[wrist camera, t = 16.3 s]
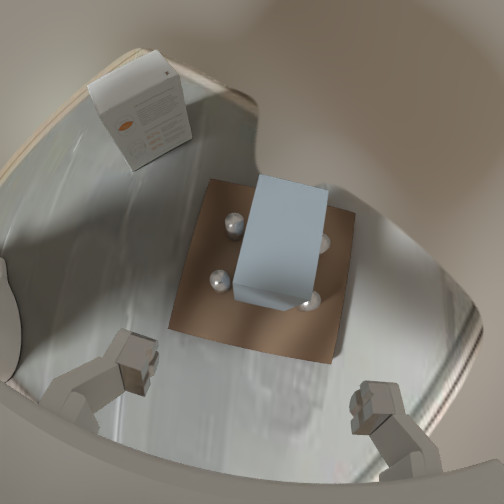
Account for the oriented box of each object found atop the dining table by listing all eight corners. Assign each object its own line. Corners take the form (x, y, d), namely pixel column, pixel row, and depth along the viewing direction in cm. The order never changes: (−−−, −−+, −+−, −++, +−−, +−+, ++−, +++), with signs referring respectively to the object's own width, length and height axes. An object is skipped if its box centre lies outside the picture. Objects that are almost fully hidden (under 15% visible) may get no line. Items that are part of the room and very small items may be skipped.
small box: (173, 111, 33) (158, 47, 23) (194, 139, 32) (181, 73, 22) (116, 142, 32) (85, 84, 22) (132, 173, 31) (97, 115, 21)
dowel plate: (171, 328, 27) (159, 328, 22) (211, 185, 31) (207, 163, 26) (326, 362, 27) (342, 367, 22) (350, 218, 30) (366, 201, 26)
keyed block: (234, 299, 26) (232, 282, 17) (252, 226, 28) (259, 173, 18) (284, 311, 26) (310, 300, 17) (298, 237, 28) (328, 190, 18)
